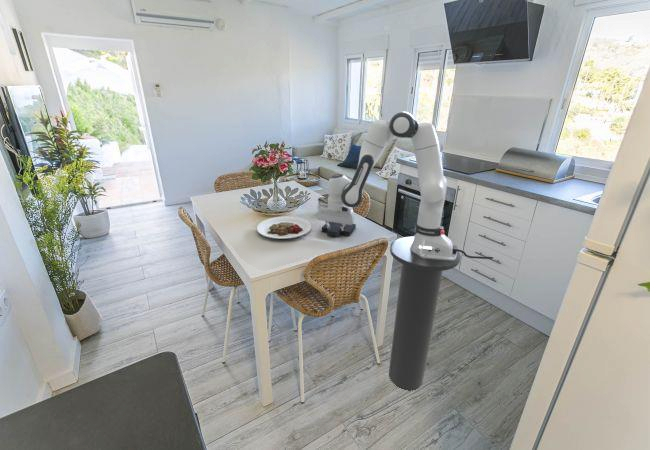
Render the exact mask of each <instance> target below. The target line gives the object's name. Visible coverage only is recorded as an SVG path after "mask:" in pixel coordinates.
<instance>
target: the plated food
mask: <svg viewBox="0 0 650 450" xmlns="http://www.w3.org/2000/svg"><path fill="white" fill-rule="evenodd" d="M311 230H312V224H311V222H310V221H309V220H307V219H305V218H302V217H299V216H298V217H297V216H292V215H291V216H287V215H285V216H275V217H270V218H267V219H264V220H263V221H261V222H259V224H257V226H256V231H257V232H258V234H260V235H261V236H263V237H266V238H269V239H277V240H279V239H281V240H284V239H294V238H298V237H302V236H305V235H306V234H308V233H309V232H310V231H311Z"/></svg>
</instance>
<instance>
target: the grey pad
mask: <svg viewBox="0 0 650 450" xmlns="http://www.w3.org/2000/svg"><path fill="white" fill-rule="evenodd" d="M340 227H343V226H340V225H334V224H333V225H332V226H331V227H330V228H329V229H328V230H327V232H326V236H330V237H336V238H338V237H339V236H340V235H341V234H342V231H340Z"/></svg>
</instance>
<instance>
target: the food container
mask: <svg viewBox="0 0 650 450" xmlns="http://www.w3.org/2000/svg"><path fill="white" fill-rule="evenodd" d="M317 201H318V205H319V204H320V203H323V204H328V197H326V196H322V197H318V198H317Z"/></svg>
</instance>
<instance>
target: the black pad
mask: <svg viewBox="0 0 650 450" xmlns="http://www.w3.org/2000/svg"><path fill="white" fill-rule="evenodd" d="M328 223H329V225H331V226H332V225H333V224H334V225H340V226H343V225H342V224H341V223H335V222H328ZM356 226H357V224H356V223H353V224H352V225H348V224H346V225H345V226H344V230H343V231H342V232H341V235H342V236H347V237H350V236H351V235H352V234H353V232H354V231H355V229H356ZM327 230H328V229H327V225H326V223H324V224H323V226H322V227H321V232H323V233H327Z"/></svg>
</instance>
